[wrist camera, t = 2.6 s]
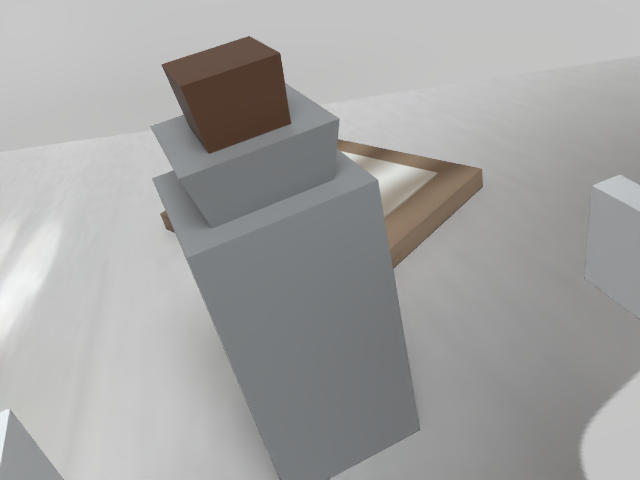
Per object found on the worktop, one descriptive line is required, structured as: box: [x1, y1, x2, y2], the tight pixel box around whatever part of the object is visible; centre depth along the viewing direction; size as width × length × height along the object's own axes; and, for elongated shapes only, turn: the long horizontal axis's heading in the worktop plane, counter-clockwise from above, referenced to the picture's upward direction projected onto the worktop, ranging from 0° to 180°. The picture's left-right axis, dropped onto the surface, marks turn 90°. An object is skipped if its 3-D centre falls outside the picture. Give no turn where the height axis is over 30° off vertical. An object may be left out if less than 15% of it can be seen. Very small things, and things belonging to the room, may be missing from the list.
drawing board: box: [160, 139, 483, 268], centre depth 44 cm, size 20×16×2 cm
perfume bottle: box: [151, 36, 420, 480], centre depth 23 cm, size 7×7×18 cm
